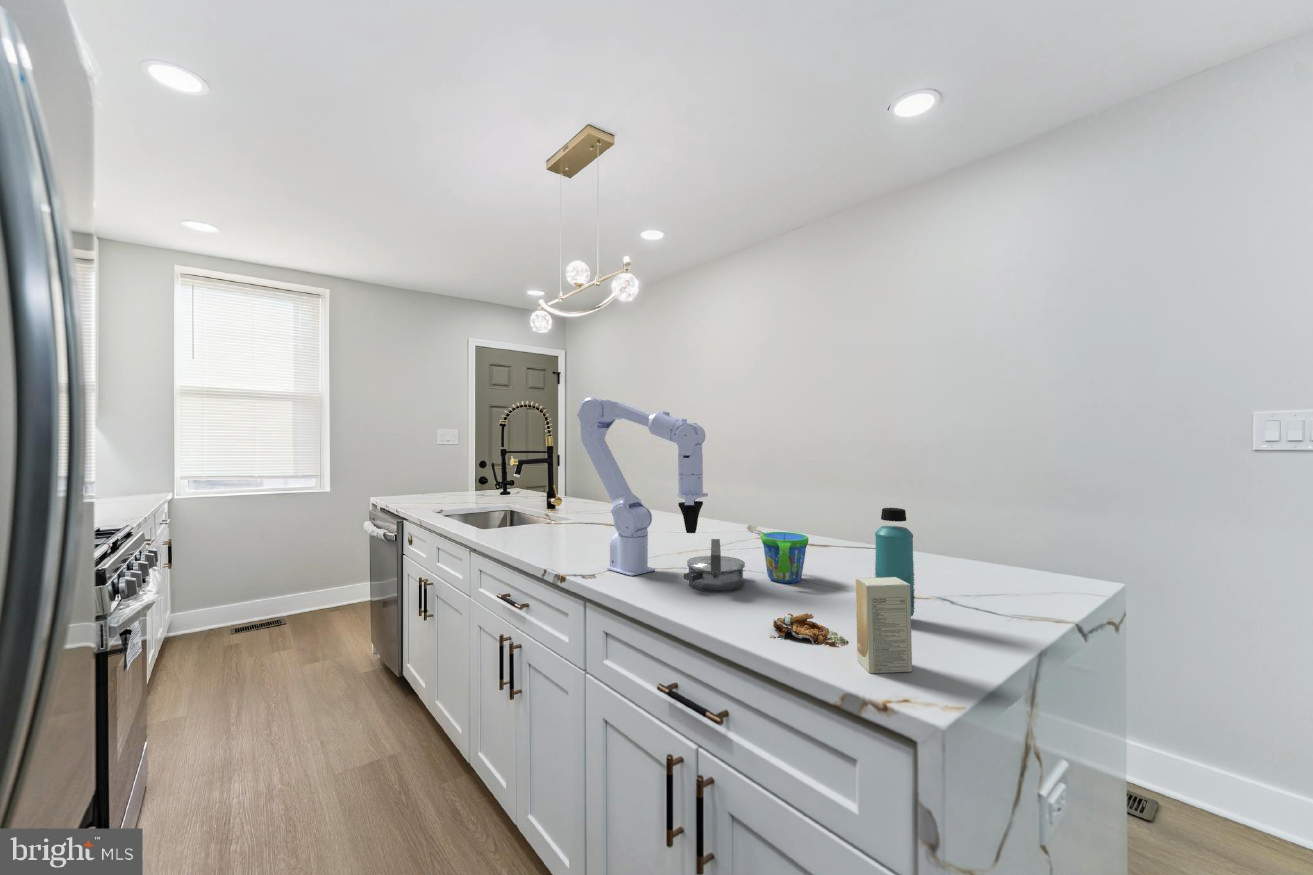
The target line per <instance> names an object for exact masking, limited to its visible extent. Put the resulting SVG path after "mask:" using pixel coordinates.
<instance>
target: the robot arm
mask: <svg viewBox="0 0 1313 875" xmlns="http://www.w3.org/2000/svg"><path fill="white" fill-rule="evenodd" d="M670 414H671V412H668V411H667V410H663V411H662V412H661V411H657V412H655V413H653V414H652V413H649V412H647V411H644V410H642V409H639V408H637V407H634V406H631V405H630V404H627V403H624V402H619V401H614V400H610V399H602V398H601V399H600V398H596V397H590V396H589V397H586V398H585V399H584V400H582V402H581V403H580V405H579V408H578V412H577V413H576V416H577V417H578V419H579V422H580V424H579V426H580V437H581V438H580V439H581V442H582V444H583V446H584V449H585V451H586V453H587V454H588V456H589V458H590V461H591V462H592V464H593V466H594V469H595V471H596V472H597V474H598V476H599V478H600V481H601V483H602V485H603V486H604V488H605V490H606V492H607V495H608V496H609V498H610V500H611V503H612V504H611V507H610V513H611V514H612V519H613V526H614V528H615V531H617V532H616V533H615V534H613V536H612V537H611V538H610V542H609V566H607V567H606V570H609V571H612V572H616V573H620V574H623V575H627V576H629V577H630V576H631V577H632V576H636V575H640V574H647V573H650V572H655V571H656V568H653V567H650V566H648V565H649V563H648V561H649V560H648V559H649V553H648V552H649V549H648V548H649V546H648V545H649V536H648V535H649V532H648V528H649V527H651V524H652V521H653V515H652V512H651V510H650V509H649V507H647V506H646V505H644V504H643V502H642V499H640V498H639V497H638V496H637V495H636V494H634V493H633V491H632V490H631V488H630V486H629V484H628V482H627V480H626V479H625V476H624V474H623V472H622V471H621V469H620V467H619V464H618V463H617V460H616V458H615V457H614V455H613V453H612V451H611V449H610V447H609V445H608V443H607V441H606V435H607V434H608V431H609V430H610V429H611V427H612V426H613V424H614V423H615V422H616V420H617V421H618V420H623V419H624V420H627V421H630V422H633V423H634V424H638V425H641V426H644V427H647V428H648V430H649V432H650V434H651V435H653V436H655V437H658V438H661V439H664V440H666V441H669V442H671V443H673V444H674V443H675V444H676V445H677V446H678V447H677V449H678V450H677V452H678V455H677V462H678V463H677V465H678V466H677V467H678V468H677V469H678V470H677V472H678V476H677V477H678V478H677V480H678V481H677V482H678V484H677V485H678V489H677V490H678V493H677V497H678V498H679V499H683V500H684V501H681V502H678V503H677V504H678V505H677V506H678V507H679V510H680V511H681V514H682V517H683V518H682V519H683V522H684V527H685V532H686V534H696V532H697V527H698V520H699V515H700V512H701V509H702V507H703V504H704V501H702V500H697V499H701V498H704V497H705V498H706V497H708V496H709V493H707V492H704V484H703V483H704V480H703V479H704V477H703V476H704V472H703V471H704V466H703V464H704V463H703V462H704V461H703V460H704V459H703V458H704V457H703V444H704V442H705V440H706V431H705V429H704V428H703V427H702V426H701V425H699V423H697V422H691V423H690V422H688V419H687V418H684V417H683V418H679V417H675V416H673V415H670ZM696 500H697V501H696Z"/></svg>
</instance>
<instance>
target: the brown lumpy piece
mask: <svg viewBox="0 0 1313 875" xmlns="http://www.w3.org/2000/svg"><path fill="white" fill-rule="evenodd" d="M811 619H814V615H813V613H808V612H806V613H802V614H798V615H793V614H792V613H790V612H789V613H788V614H785V615H784V617H778V618H777V619H773V620H772V621H773V622H772V623H773V624H772V628H774V629H775V630H776V633H777V634H778V635H777V636H774V635H772V634H769V635H768V638H770V639H776V638H777V639H778V638H781V639H783V638H784V639H785V634H787V633H790V634H791V635H792V636H794V637H795V638H797V639H803V638H804V639H809V640H810V641H811V643H812V645H823V644H824V646H827V645H829V646H828V647H837V646H838V645H840V646H839V647H844V646H843V645H845V646H847V644H848V639H846V638H845V637H844V636H842V635H840V634H839V633H837V632H836V631H835V630H829V628H828V627H827V626H824V625H822V624H819V623H817V622H814V621H812V620H811ZM816 642H817V643H816Z"/></svg>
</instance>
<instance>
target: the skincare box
mask: <svg viewBox="0 0 1313 875" xmlns="http://www.w3.org/2000/svg"><path fill="white" fill-rule="evenodd" d="M855 591H856V592H855V602H856V603H855V604H856V607H855V608H856V650H857V652H856V654H857V656H856V657H857V662H858V663H859V664H860V665H861V666H862V667H863V668H864V670H866V672H868V673H869V674H880V673H884V674H885V673H886V674H887V673H888V674H889V673H906V672H908V673H909V672H913V652H912V651H913V648H912V644H913V643H912V616H911V602H910V584H908V583H906V582H904V581H902V580H901V579H899V578H897V577H879V578H876V577H856V578H855Z"/></svg>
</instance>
